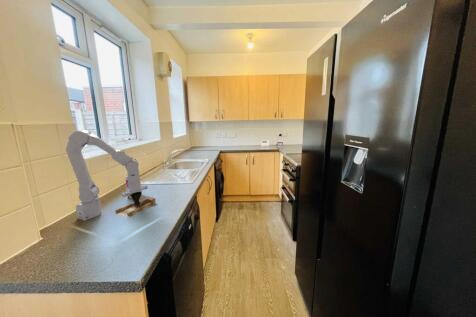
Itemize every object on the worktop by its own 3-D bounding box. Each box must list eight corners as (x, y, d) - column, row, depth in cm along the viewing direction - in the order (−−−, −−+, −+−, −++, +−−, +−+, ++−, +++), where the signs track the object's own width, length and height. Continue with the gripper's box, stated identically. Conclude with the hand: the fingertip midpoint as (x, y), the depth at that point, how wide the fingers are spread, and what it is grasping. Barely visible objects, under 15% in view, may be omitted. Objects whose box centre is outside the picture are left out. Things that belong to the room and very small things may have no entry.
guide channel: (129, 219, 96) (128, 211, 95) (112, 214, 101) (111, 207, 100) (157, 205, 112) (156, 198, 111) (141, 201, 117) (140, 195, 117)
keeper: (141, 207, 107) (141, 201, 106) (134, 205, 109) (133, 200, 108) (149, 204, 111) (148, 198, 111) (141, 202, 114) (141, 197, 113)
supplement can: (137, 200, 120) (135, 177, 117) (124, 200, 120) (121, 177, 117) (144, 195, 128) (142, 173, 125) (132, 195, 128) (129, 173, 125)
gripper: (127, 186, 97) (130, 211, 99) (150, 178, 110) (152, 201, 112) (117, 184, 99) (121, 209, 102) (141, 177, 112) (144, 199, 115)
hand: (137, 204), depth 107 cm, fingers closed
